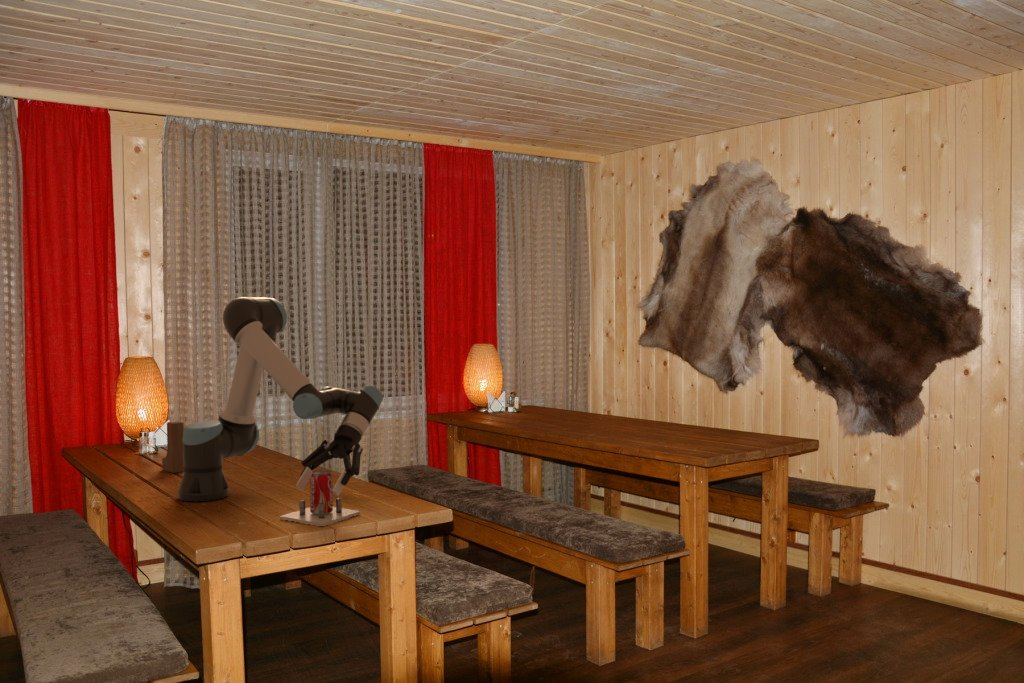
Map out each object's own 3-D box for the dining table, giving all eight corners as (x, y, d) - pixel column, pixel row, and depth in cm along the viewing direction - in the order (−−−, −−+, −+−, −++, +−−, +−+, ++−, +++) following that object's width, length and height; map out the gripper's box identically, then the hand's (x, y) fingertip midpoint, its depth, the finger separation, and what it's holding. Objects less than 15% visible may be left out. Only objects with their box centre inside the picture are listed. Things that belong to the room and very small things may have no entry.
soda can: (325, 509, 249) (325, 468, 249) (336, 513, 244) (336, 472, 244) (306, 513, 245) (306, 471, 245) (316, 517, 240) (316, 475, 240)
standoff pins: (298, 514, 243) (298, 501, 243) (319, 508, 251) (319, 494, 251) (321, 518, 239) (321, 504, 239) (342, 512, 246) (342, 498, 246)
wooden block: (161, 470, 312) (161, 421, 312) (174, 468, 316) (173, 419, 315) (172, 473, 306) (171, 423, 305) (184, 471, 309) (184, 422, 308)
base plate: (279, 519, 242) (279, 516, 242) (318, 507, 256) (318, 504, 256) (322, 527, 234) (322, 523, 234) (360, 514, 248) (360, 510, 248)
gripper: (390, 442, 252) (357, 503, 239) (325, 435, 264) (291, 493, 252) (378, 426, 247) (344, 488, 234) (313, 420, 259) (277, 478, 247)
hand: (316, 490), depth 243 cm, fingers open, 13 cm apart
